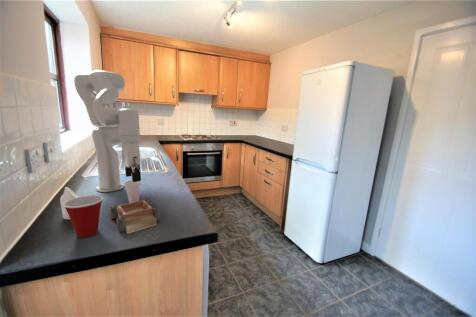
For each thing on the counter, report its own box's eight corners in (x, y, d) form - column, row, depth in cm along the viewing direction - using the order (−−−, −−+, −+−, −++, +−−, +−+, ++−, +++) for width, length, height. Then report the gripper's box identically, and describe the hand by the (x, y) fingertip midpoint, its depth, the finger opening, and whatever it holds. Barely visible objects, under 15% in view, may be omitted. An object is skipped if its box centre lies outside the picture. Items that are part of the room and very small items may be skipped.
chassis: (109, 215, 85) (108, 202, 84) (145, 206, 94) (144, 194, 93) (121, 235, 72) (120, 220, 71) (161, 223, 81) (161, 210, 80)
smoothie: (125, 207, 92) (123, 175, 89) (125, 201, 98) (123, 171, 95) (142, 204, 95) (140, 174, 92) (141, 199, 101) (139, 170, 98)
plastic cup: (103, 221, 80) (100, 191, 78) (109, 234, 72) (106, 201, 70) (65, 231, 73) (61, 197, 71) (68, 246, 65) (63, 209, 63)
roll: (79, 186, 81) (60, 190, 76) (83, 216, 83) (64, 221, 79) (74, 182, 84) (56, 186, 80) (78, 211, 87) (60, 216, 83)
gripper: (115, 137, 94) (118, 175, 98) (126, 141, 81) (129, 185, 85) (133, 136, 99) (136, 173, 102) (146, 140, 86) (149, 181, 90)
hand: (133, 178), depth 94 cm, fingers open, 9 cm apart
